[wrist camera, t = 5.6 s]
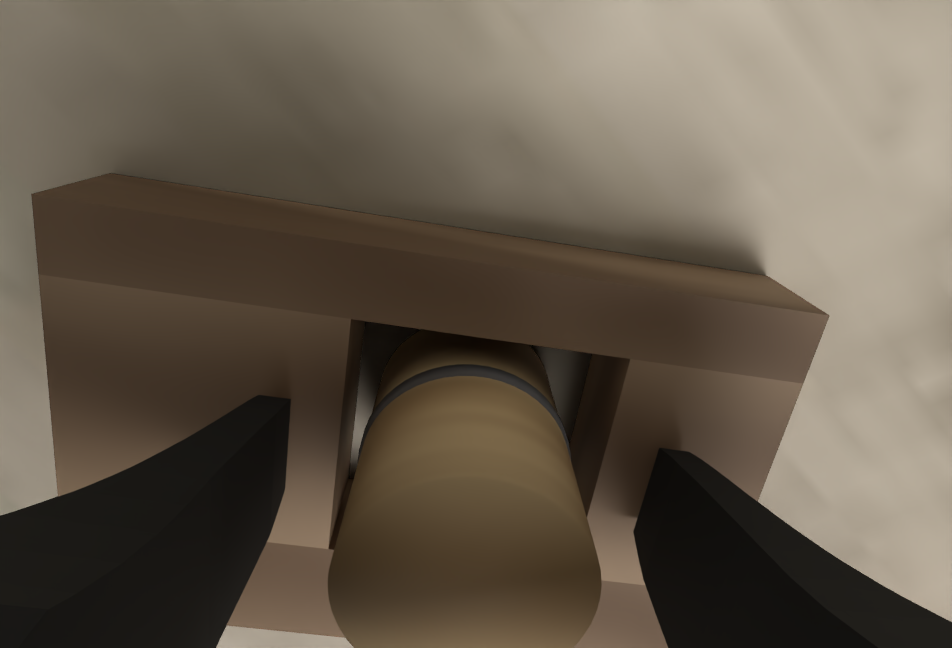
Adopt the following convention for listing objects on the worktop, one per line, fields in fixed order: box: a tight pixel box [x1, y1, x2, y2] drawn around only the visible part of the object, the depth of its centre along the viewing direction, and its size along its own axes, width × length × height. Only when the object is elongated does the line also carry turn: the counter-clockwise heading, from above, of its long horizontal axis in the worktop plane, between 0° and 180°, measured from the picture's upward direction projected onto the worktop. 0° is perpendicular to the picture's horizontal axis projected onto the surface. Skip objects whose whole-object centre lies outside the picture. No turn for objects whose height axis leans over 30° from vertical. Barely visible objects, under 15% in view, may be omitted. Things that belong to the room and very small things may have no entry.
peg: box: [328, 329, 602, 648], centre depth 12 cm, size 4×4×6 cm
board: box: [32, 173, 829, 648], centre depth 14 cm, size 9×14×2 cm, turn 81°
